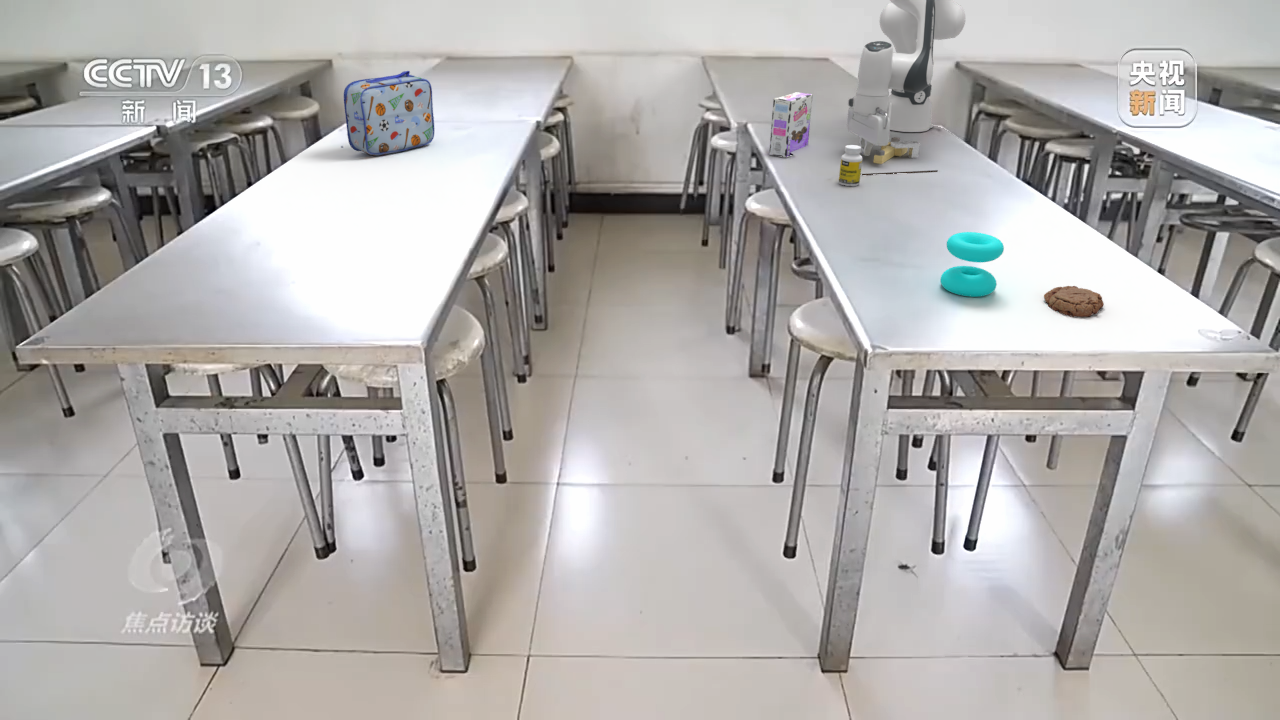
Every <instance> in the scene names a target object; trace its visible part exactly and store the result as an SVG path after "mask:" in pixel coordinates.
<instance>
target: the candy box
mask: <svg viewBox="0 0 1280 720" xmlns="http://www.w3.org/2000/svg"><path fill="white" fill-rule="evenodd" d="M812 105H813V94H812V93H807V92H806V93H805V92H799V91H797V92H796V91H795V92H793V93H790V94H786V95H783V96H779V97H774V98H773V103H772V113H771V114H772V115H771V128H770V129H771V130H770V139H769V140H770V141H769V152H768V154H769V156H774V157H778V156H782V157H781V158H783V157H787V156H790V155H792V156H794V153H792V152H795V151H797V150H799V149H803V148H804V147H806V146H809V138H810V130H811V129H810V127H811V116H812V115H811V114H812ZM790 157H791V156H790ZM787 158H788V157H787Z"/></svg>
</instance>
